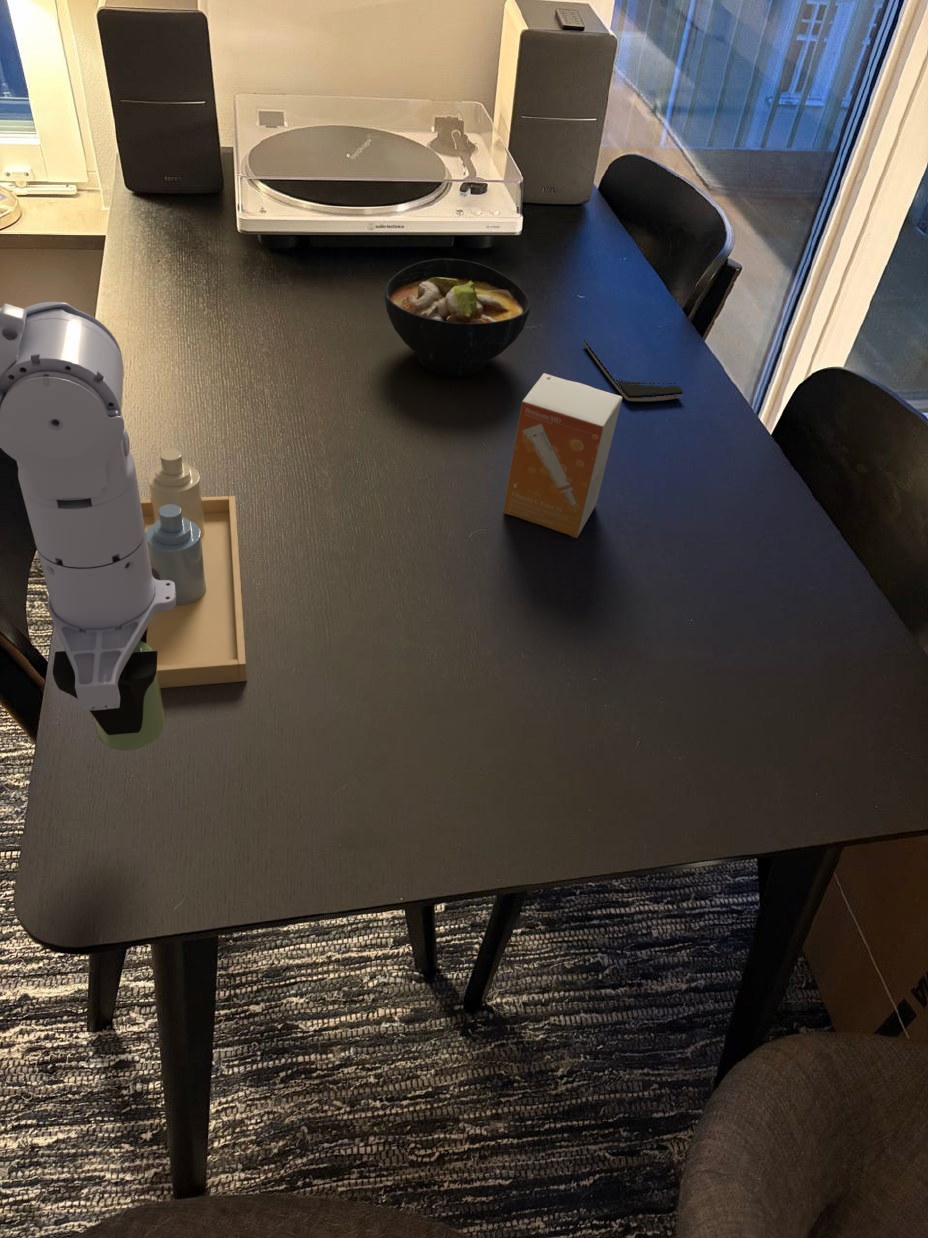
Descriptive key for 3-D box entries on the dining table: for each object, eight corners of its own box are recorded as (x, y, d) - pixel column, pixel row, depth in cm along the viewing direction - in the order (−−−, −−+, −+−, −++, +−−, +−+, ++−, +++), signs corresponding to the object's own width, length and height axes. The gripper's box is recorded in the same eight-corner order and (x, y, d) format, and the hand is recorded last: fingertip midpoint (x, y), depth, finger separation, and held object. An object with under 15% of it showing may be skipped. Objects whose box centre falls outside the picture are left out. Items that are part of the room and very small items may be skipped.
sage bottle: (93, 753, 62) (70, 662, 56) (98, 702, 65) (76, 611, 60) (164, 747, 63) (148, 657, 57) (166, 697, 66) (151, 607, 60)
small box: (501, 514, 97) (519, 399, 88) (523, 482, 101) (543, 370, 92) (578, 540, 95) (604, 425, 86) (597, 506, 99) (624, 394, 90)
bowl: (509, 328, 126) (519, 253, 119) (531, 397, 114) (544, 318, 107) (378, 323, 124) (381, 246, 117) (386, 393, 111) (390, 312, 105)
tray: (112, 692, 75) (108, 674, 74) (124, 517, 91) (121, 500, 89) (247, 681, 77) (245, 663, 76) (236, 512, 93) (235, 495, 91)
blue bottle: (153, 607, 82) (140, 528, 76) (154, 573, 85) (142, 495, 79) (207, 603, 83) (198, 525, 77) (206, 570, 86) (197, 493, 80)
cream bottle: (155, 547, 87) (143, 469, 81) (156, 517, 90) (144, 440, 85) (205, 544, 88) (197, 468, 82) (204, 515, 91) (196, 439, 86)
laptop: (635, 333, 126) (685, 392, 116) (633, 341, 127) (682, 401, 117) (583, 335, 124) (629, 396, 114) (581, 344, 125) (627, 405, 115)
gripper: (164, 621, 49) (189, 784, 58) (168, 458, 59) (189, 619, 68) (14, 630, 48) (64, 796, 57) (45, 461, 58) (84, 626, 67)
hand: (125, 700), depth 63 cm, fingers closed on sage bottle, 4 cm apart
